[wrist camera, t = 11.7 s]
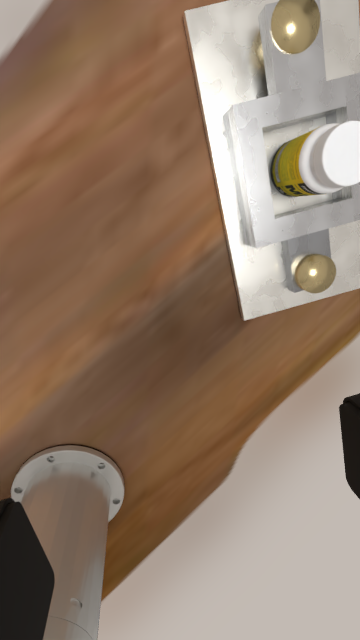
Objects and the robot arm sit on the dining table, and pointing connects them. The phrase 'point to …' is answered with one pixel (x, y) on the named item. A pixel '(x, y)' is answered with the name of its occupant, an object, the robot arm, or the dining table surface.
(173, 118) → the dining table surface
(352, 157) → the supplement bottle
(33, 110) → the dining table surface
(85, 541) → the robot arm
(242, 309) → the gray plate
